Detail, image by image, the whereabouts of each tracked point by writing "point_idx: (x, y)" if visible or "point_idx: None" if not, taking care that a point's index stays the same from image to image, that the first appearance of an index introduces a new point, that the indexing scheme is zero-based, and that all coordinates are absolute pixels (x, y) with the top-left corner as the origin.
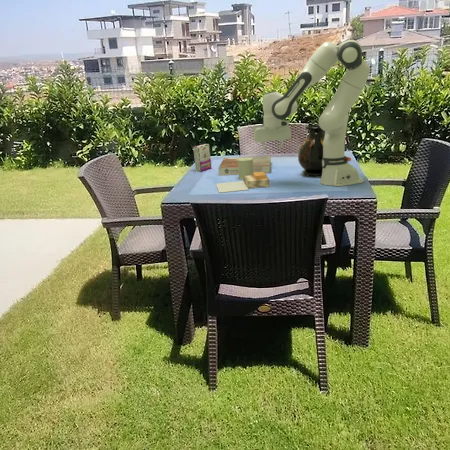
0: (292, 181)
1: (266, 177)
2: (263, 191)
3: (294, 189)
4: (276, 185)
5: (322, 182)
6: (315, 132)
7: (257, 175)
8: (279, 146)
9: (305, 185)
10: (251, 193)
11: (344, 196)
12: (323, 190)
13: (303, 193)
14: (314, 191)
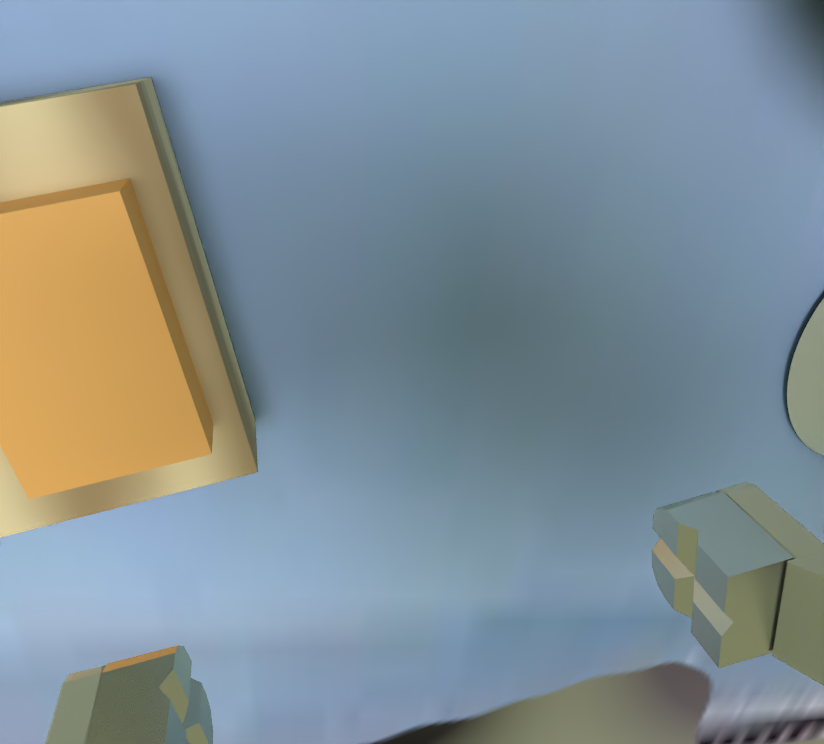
0: (552, 214)
1: (210, 433)
2: (196, 591)
3: (508, 538)
4: (339, 378)
5: (803, 412)
6: None
7: (54, 468)
8: (692, 614)
9: (638, 414)
10: (68, 652)
11: (775, 691)
12: None
13: (554, 642)
14: (647, 595)
